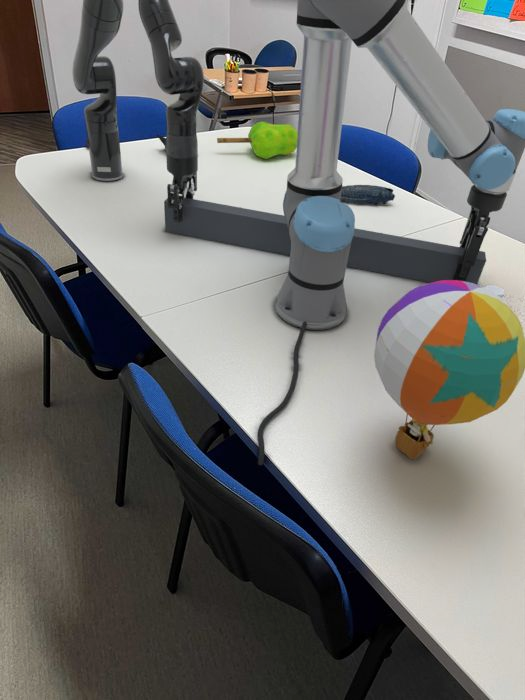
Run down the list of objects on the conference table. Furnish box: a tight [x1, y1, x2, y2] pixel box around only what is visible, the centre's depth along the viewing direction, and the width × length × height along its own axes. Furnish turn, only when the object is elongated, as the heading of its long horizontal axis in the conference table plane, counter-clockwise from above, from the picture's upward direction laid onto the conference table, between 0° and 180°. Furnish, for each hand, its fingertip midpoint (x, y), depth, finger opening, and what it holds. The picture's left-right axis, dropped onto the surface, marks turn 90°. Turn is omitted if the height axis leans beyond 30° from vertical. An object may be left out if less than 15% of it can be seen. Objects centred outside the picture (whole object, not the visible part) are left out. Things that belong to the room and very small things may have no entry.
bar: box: [163, 197, 487, 285], centre depth 130 cm, size 79×4×8 cm, turn 75°
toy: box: [373, 280, 525, 460], centre depth 74 cm, size 20×20×30 cm
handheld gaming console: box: [156, 133, 166, 150], centre depth 183 cm, size 12×7×10 cm
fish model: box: [340, 184, 396, 206], centre depth 161 cm, size 7×21×5 cm, turn 84°
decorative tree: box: [216, 121, 298, 160], centre depth 186 cm, size 18×10×30 cm
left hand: (183, 215), depth 135 cm, fingers open, 7 cm apart
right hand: (456, 281), depth 127 cm, fingers closed on bar, 4 cm apart
